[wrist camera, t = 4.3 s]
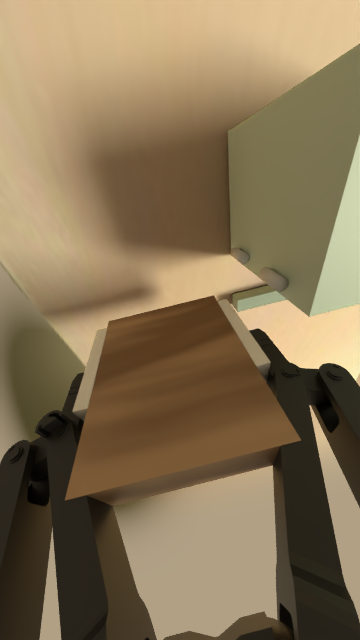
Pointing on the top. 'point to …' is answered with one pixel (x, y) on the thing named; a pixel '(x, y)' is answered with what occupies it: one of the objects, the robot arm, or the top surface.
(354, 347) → the top surface
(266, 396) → the brown boxy piece
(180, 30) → the top surface
